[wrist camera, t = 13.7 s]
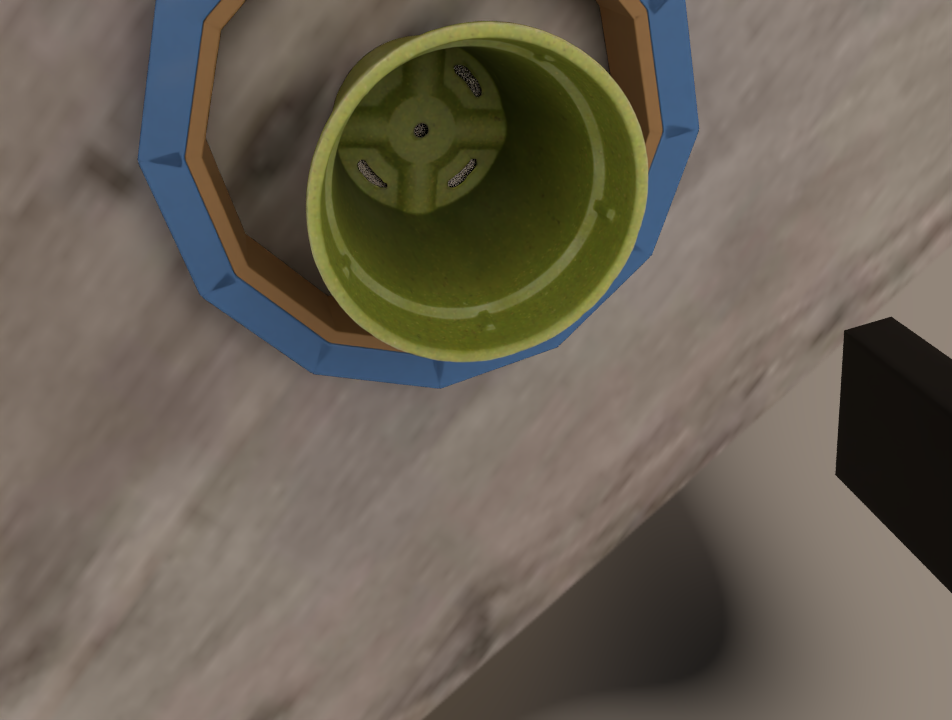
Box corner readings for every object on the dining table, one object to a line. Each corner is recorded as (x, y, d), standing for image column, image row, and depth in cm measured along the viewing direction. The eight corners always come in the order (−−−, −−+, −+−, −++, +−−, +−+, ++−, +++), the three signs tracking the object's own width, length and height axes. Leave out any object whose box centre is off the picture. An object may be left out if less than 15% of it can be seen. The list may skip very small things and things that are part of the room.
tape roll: (413, -328, 25) (436, -346, 23) (744, 103, 34) (787, 124, 32) (31, 140, 29) (14, 169, 26) (424, 421, 37) (439, 463, 35)
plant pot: (420, -90, 28) (495, -66, 21) (599, 118, 33) (710, 196, 26) (222, 130, 30) (227, 222, 23) (420, 298, 35) (477, 418, 27)
